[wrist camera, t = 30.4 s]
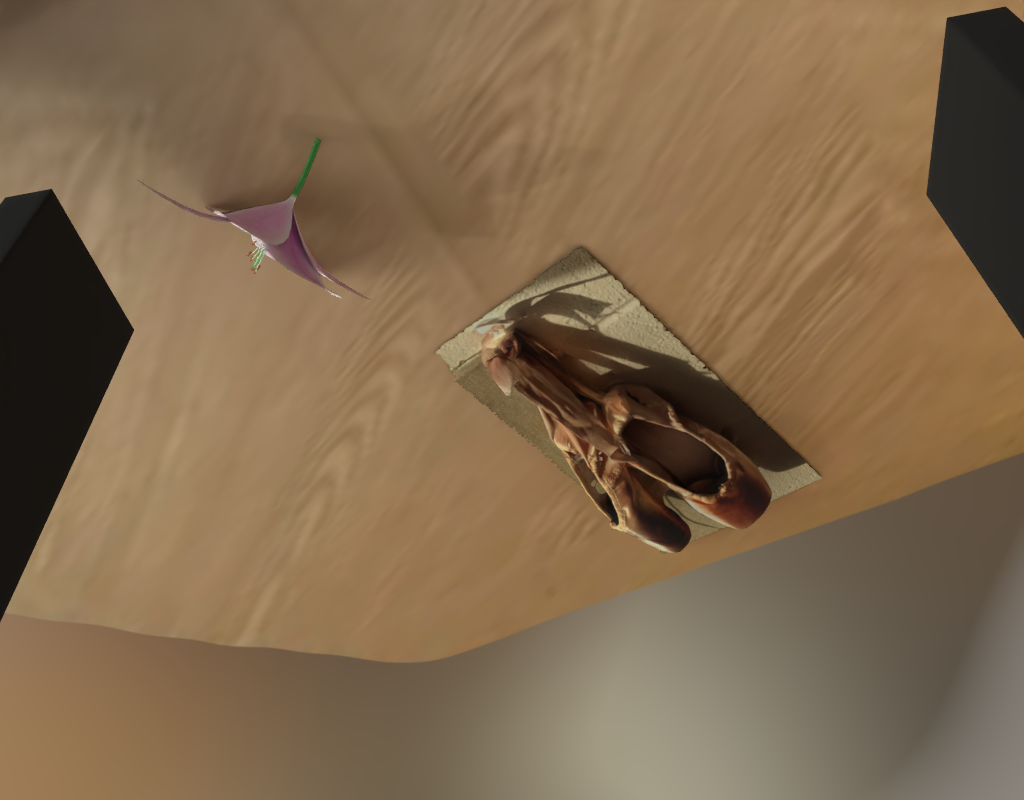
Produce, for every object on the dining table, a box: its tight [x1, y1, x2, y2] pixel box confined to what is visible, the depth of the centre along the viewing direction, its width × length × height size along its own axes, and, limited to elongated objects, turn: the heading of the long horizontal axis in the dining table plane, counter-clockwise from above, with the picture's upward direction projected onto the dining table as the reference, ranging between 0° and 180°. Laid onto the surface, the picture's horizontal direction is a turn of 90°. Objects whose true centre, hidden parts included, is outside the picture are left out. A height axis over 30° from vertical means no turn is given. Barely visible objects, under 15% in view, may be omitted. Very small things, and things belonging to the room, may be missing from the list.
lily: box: [139, 138, 370, 300], centre depth 50 cm, size 12×12×10 cm
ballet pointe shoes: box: [434, 248, 822, 554], centre depth 63 cm, size 14×7×28 cm
